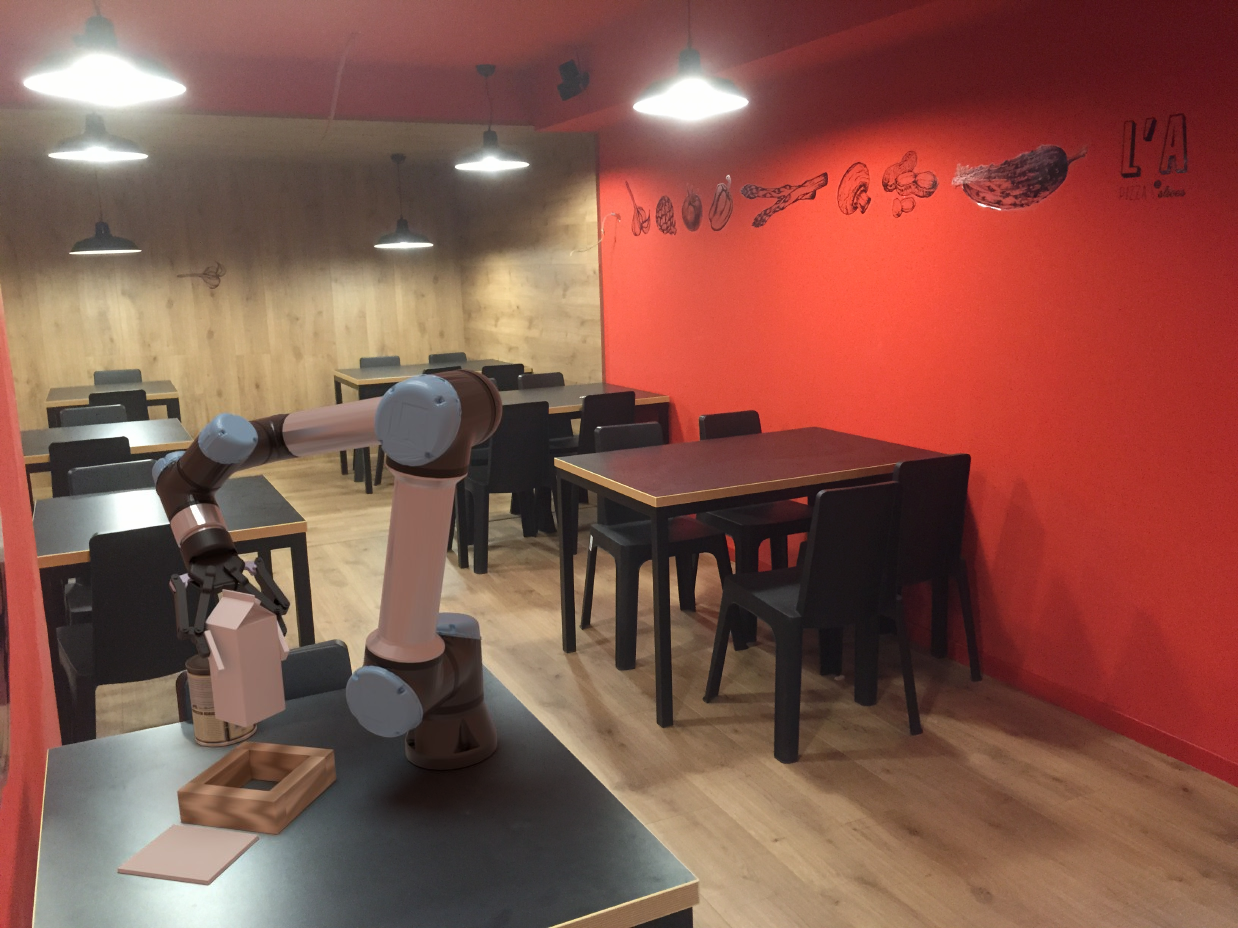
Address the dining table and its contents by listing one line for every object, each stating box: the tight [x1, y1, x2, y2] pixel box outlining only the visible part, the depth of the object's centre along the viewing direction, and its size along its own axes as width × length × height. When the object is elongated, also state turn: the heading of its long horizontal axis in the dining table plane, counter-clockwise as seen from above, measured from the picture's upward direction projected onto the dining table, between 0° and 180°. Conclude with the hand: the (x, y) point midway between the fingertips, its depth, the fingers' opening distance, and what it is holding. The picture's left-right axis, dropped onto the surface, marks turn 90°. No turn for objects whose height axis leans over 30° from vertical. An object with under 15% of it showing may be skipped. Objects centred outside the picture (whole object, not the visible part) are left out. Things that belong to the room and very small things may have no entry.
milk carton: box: [204, 589, 286, 727], centre depth 143 cm, size 7×7×19 cm
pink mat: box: [116, 823, 260, 886], centre depth 133 cm, size 14×11×1 cm
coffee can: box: [184, 653, 258, 748], centre depth 169 cm, size 10×10×14 cm
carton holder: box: [176, 740, 337, 835], centre depth 146 cm, size 16×16×5 cm
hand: (253, 664), depth 141 cm, fingers closed on milk carton, 9 cm apart
